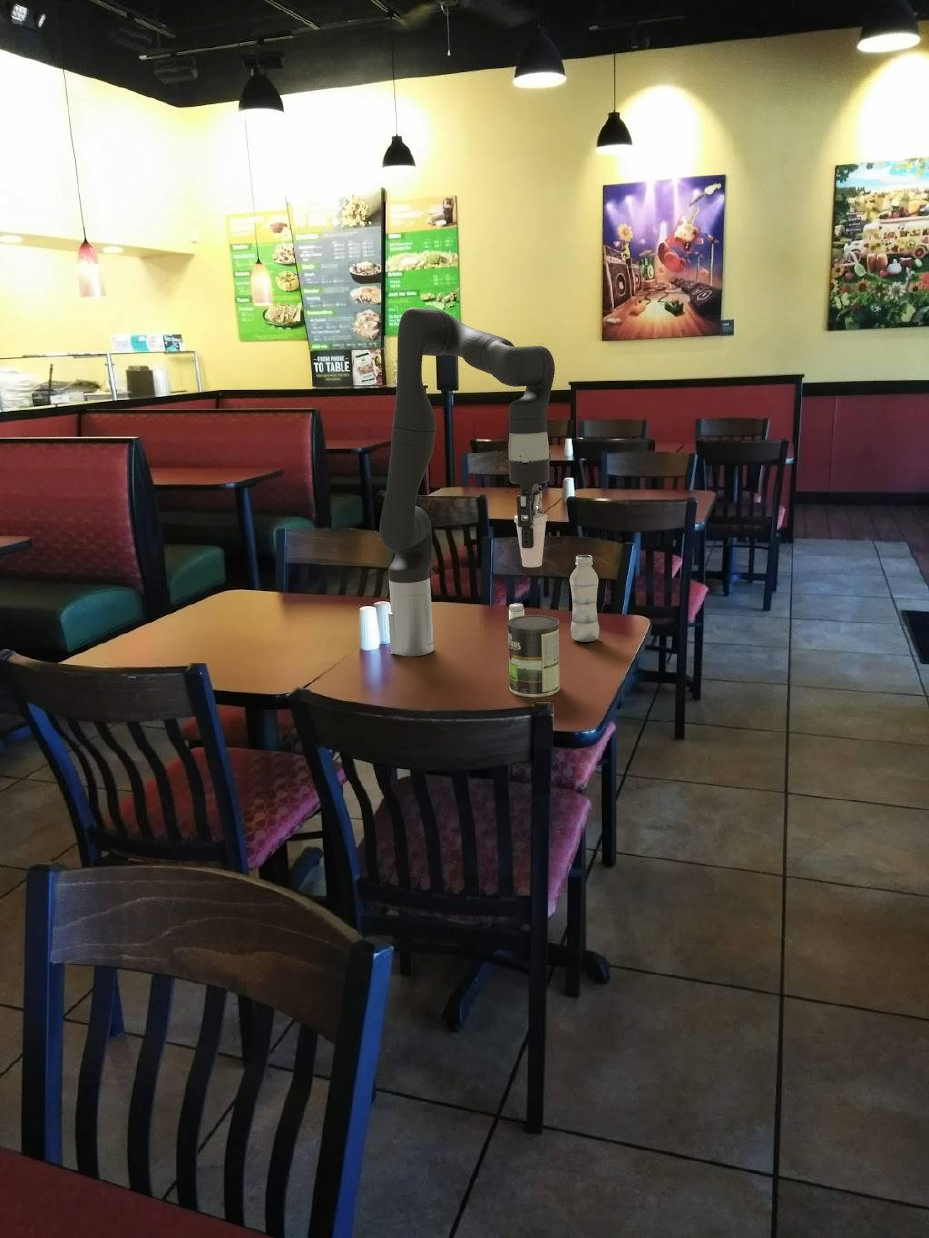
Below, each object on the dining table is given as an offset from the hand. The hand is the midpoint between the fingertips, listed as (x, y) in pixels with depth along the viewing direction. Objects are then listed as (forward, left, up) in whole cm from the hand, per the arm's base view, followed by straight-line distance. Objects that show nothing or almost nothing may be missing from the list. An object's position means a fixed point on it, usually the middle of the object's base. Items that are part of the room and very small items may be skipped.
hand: (531, 544), depth 180 cm
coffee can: (0, 0, -30) cm, 30 cm away
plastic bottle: (+6, +33, -30) cm, 45 cm away
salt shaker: (-10, +33, -30) cm, 45 cm away
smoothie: (0, 0, -4) cm, 4 cm away
